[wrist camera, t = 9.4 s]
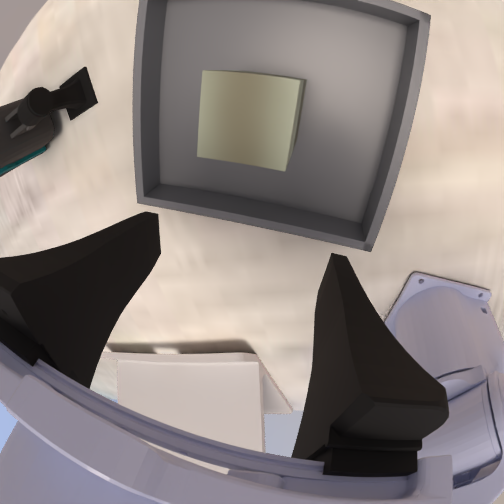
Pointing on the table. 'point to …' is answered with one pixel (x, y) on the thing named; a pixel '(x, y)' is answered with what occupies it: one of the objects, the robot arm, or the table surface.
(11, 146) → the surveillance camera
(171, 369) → the tablet stand
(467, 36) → the table surface
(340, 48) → the tray
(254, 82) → the block
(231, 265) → the table surface
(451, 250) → the table surface
